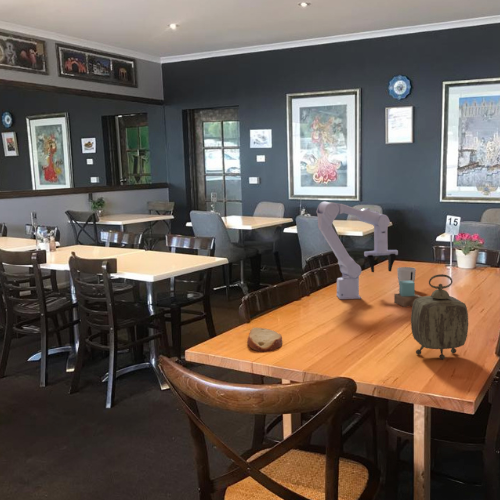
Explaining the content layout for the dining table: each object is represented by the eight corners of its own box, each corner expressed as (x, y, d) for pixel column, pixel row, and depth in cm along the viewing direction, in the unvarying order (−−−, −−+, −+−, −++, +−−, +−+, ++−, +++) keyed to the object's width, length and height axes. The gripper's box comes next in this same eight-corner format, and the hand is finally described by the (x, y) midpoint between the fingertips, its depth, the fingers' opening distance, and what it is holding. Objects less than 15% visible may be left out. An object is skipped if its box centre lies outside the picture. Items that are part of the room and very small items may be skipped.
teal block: (402, 296, 226) (402, 283, 225) (399, 293, 231) (399, 280, 230) (414, 296, 226) (414, 283, 225) (411, 293, 231) (411, 280, 230)
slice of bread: (258, 331, 197) (258, 321, 196) (299, 340, 185) (299, 330, 184) (223, 344, 183) (223, 333, 183) (265, 355, 172) (264, 343, 171)
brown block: (403, 307, 224) (403, 298, 223) (394, 303, 231) (394, 293, 231) (421, 306, 225) (421, 296, 225) (411, 301, 233) (411, 292, 233)
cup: (411, 292, 248) (411, 270, 247) (394, 290, 253) (394, 269, 251) (418, 289, 254) (418, 267, 253) (401, 287, 259) (401, 266, 258)
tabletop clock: (457, 351, 169) (459, 271, 165) (470, 361, 160) (472, 276, 156) (410, 353, 168) (411, 272, 165) (420, 363, 159) (421, 278, 156)
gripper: (366, 243, 239) (367, 274, 241) (399, 241, 239) (400, 272, 241) (362, 241, 246) (363, 271, 248) (395, 239, 246) (395, 269, 248)
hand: (381, 271), depth 245 cm, fingers open, 7 cm apart
